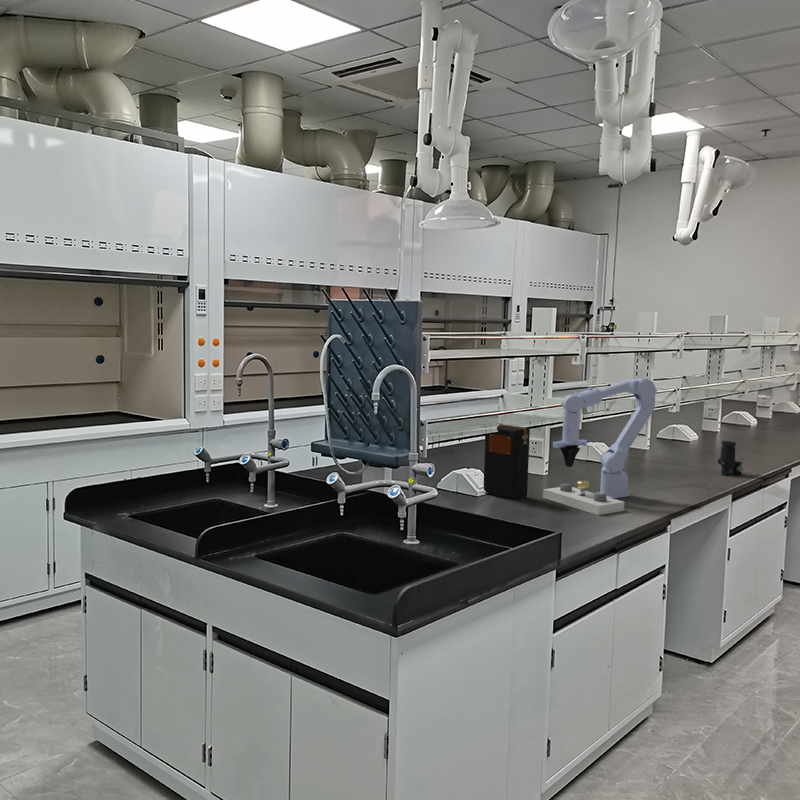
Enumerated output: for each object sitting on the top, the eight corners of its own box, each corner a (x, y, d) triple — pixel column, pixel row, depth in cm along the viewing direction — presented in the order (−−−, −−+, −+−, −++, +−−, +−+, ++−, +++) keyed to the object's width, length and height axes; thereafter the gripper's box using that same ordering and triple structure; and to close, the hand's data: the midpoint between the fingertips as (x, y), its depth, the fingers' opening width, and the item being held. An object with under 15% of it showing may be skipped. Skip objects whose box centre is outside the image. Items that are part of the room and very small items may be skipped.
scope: (746, 442, 305) (733, 444, 299) (743, 475, 306) (731, 477, 300) (727, 439, 311) (714, 441, 305) (724, 471, 313) (712, 474, 306)
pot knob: (582, 494, 254) (583, 480, 253) (591, 496, 251) (591, 482, 250) (574, 495, 252) (574, 481, 251) (582, 497, 249) (583, 483, 248)
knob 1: (565, 496, 261) (566, 483, 261) (573, 499, 258) (574, 485, 257) (557, 497, 259) (558, 484, 258) (565, 500, 256) (566, 486, 255)
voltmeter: (529, 497, 260) (532, 427, 257) (515, 501, 253) (518, 429, 251) (494, 489, 270) (496, 422, 268) (479, 493, 264) (482, 424, 262)
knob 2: (599, 506, 248) (600, 492, 247) (608, 509, 244) (609, 495, 244) (591, 508, 245) (591, 493, 245) (599, 510, 242) (600, 496, 242)
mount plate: (568, 494, 266) (568, 485, 265) (623, 510, 244) (624, 501, 243) (543, 497, 260) (543, 489, 259) (598, 515, 237) (598, 505, 237)
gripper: (563, 431, 255) (561, 470, 256) (594, 429, 262) (592, 466, 263) (549, 428, 261) (547, 466, 262) (580, 426, 268) (578, 463, 269)
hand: (569, 466), depth 263 cm, fingers closed
